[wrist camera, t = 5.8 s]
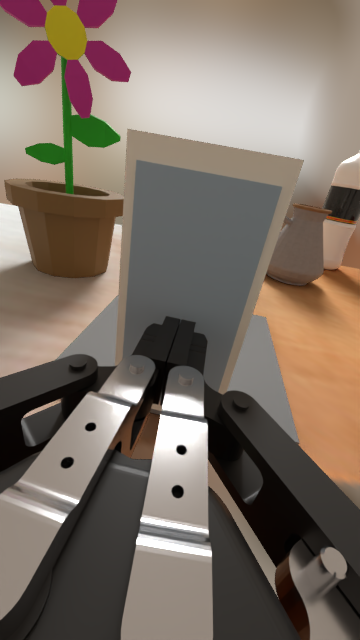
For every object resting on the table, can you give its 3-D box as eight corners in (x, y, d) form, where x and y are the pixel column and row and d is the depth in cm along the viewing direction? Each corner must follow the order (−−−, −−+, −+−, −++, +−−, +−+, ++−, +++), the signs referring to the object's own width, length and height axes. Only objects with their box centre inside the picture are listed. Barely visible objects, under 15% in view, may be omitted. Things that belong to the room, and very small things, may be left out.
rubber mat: (264, 321, 33) (265, 317, 33) (295, 448, 18) (299, 442, 17) (125, 291, 34) (125, 286, 34) (38, 384, 19) (37, 378, 18)
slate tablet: (217, 398, 19) (291, 163, 12) (215, 426, 17) (305, 160, 10) (125, 376, 20) (144, 137, 13) (112, 400, 18) (126, 128, 10)
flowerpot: (9, 284, 31) (-61, -165, 16) (20, 247, 42) (-17, -40, 28) (131, 284, 37) (158, -48, 22) (112, 252, 48) (121, 16, 33)
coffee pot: (297, 270, 58) (326, 195, 50) (329, 292, 48) (372, 203, 41) (202, 259, 53) (219, 175, 46) (216, 280, 44) (241, 178, 36)
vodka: (297, 255, 71) (350, 117, 56) (333, 264, 69) (397, 123, 55) (301, 264, 63) (363, 106, 49) (342, 274, 61) (419, 113, 47)
